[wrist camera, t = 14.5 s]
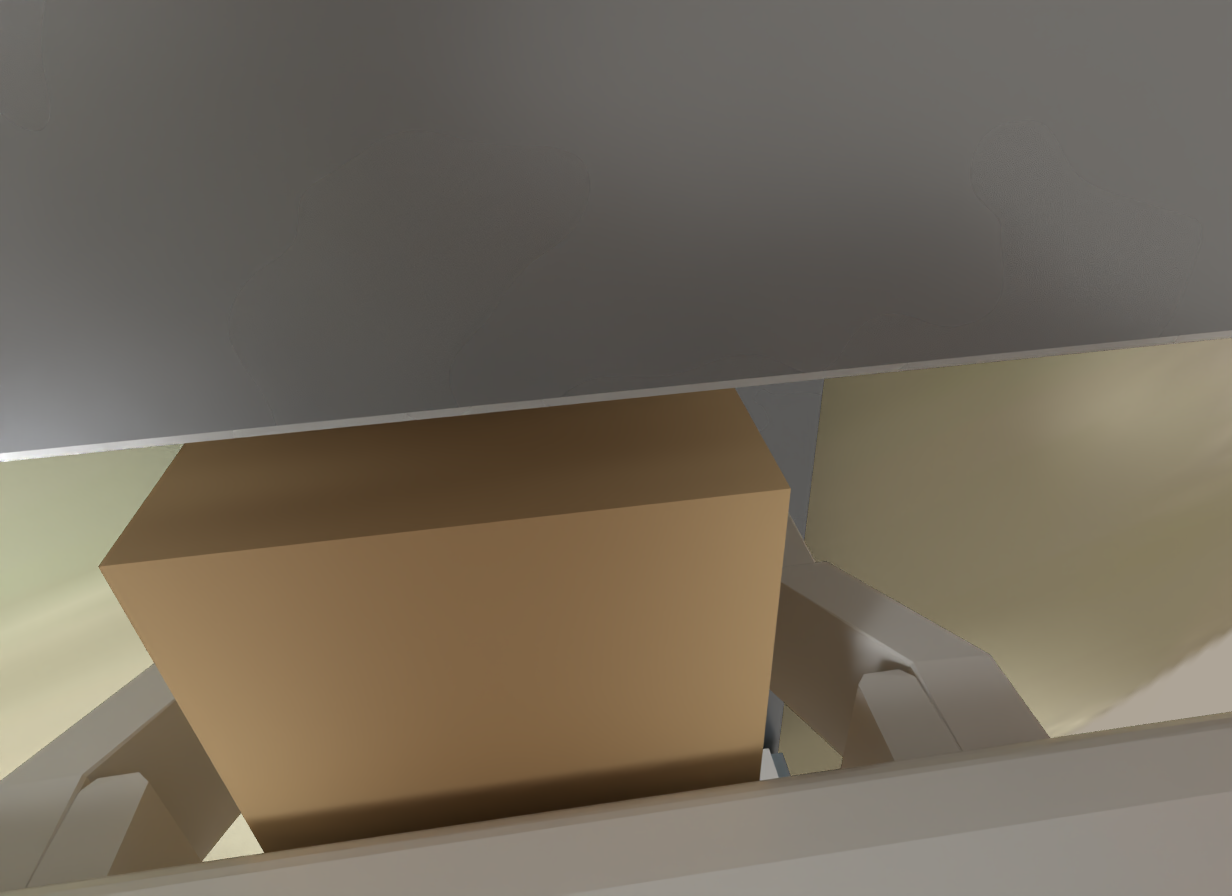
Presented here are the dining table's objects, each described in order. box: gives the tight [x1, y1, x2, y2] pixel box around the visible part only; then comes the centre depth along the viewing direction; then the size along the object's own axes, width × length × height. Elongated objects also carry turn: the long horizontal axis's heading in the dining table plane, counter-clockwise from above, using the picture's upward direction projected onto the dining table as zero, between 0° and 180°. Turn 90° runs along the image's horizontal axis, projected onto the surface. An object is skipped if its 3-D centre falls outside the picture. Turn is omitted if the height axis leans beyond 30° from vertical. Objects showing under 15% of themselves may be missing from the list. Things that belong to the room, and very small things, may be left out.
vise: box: [0, 0, 1232, 754], centre depth 12 cm, size 22×12×11 cm, turn 3°
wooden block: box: [98, 388, 791, 853], centre depth 9 cm, size 4×8×7 cm, turn 2°
